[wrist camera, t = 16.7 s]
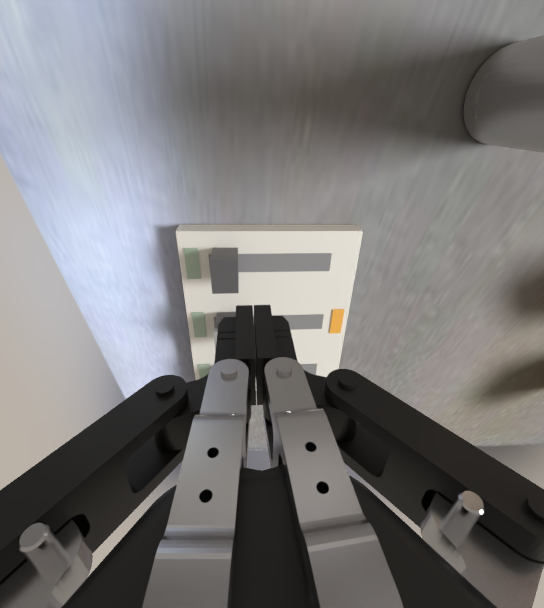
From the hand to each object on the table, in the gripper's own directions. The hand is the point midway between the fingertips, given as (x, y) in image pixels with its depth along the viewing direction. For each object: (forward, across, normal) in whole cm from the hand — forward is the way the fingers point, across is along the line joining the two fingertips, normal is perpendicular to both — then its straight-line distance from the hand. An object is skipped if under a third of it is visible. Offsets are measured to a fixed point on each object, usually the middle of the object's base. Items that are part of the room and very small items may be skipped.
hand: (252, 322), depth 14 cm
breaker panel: (+27, -3, +17) cm, 32 cm away
